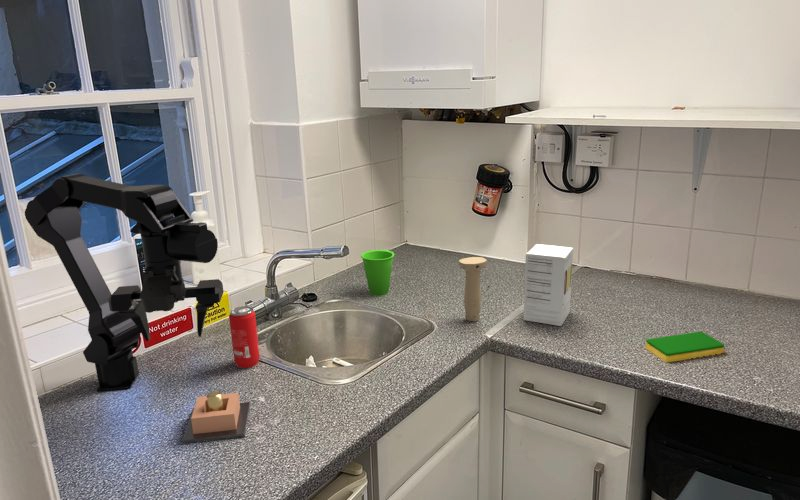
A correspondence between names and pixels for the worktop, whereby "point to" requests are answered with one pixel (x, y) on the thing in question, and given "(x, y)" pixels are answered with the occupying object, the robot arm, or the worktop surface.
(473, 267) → the handle
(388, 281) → the cup
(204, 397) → the ring
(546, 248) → the supplement box
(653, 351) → the dish sponge
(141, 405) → the worktop surface
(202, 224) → the robot arm
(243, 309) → the beverage can
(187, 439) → the black plate with peg
